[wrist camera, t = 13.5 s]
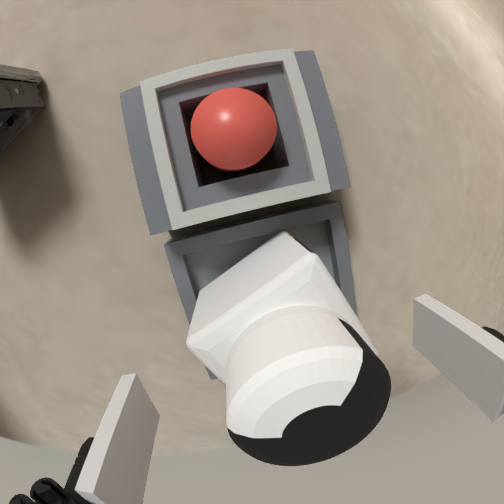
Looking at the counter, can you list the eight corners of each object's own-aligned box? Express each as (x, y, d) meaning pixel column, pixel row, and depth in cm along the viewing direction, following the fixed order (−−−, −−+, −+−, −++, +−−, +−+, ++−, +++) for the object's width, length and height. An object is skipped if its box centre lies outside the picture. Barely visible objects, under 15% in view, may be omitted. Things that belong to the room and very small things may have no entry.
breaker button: (207, 179, 18) (201, 177, 14) (192, 116, 17) (183, 99, 13) (274, 164, 18) (285, 158, 14) (258, 100, 17) (265, 81, 13)
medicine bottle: (338, 306, 20) (429, 414, 8) (259, 360, 21) (284, 497, 9) (284, 227, 19) (368, 291, 7) (197, 291, 19) (161, 421, 7)
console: (211, 366, 22) (209, 402, 18) (138, 109, 18) (116, 90, 13) (350, 330, 23) (372, 358, 18) (299, 72, 18) (315, 46, 13)
